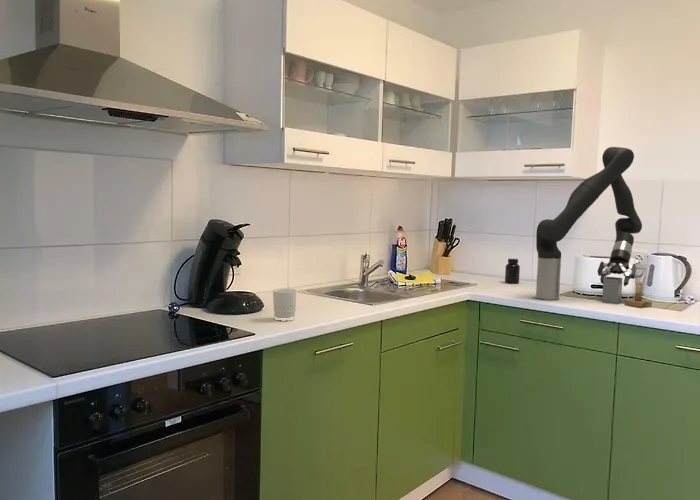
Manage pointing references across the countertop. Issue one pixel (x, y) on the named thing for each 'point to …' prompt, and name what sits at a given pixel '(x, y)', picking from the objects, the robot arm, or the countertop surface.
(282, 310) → the white cup
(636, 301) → the post
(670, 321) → the countertop surface
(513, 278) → the supplement bottle
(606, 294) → the sleeve
